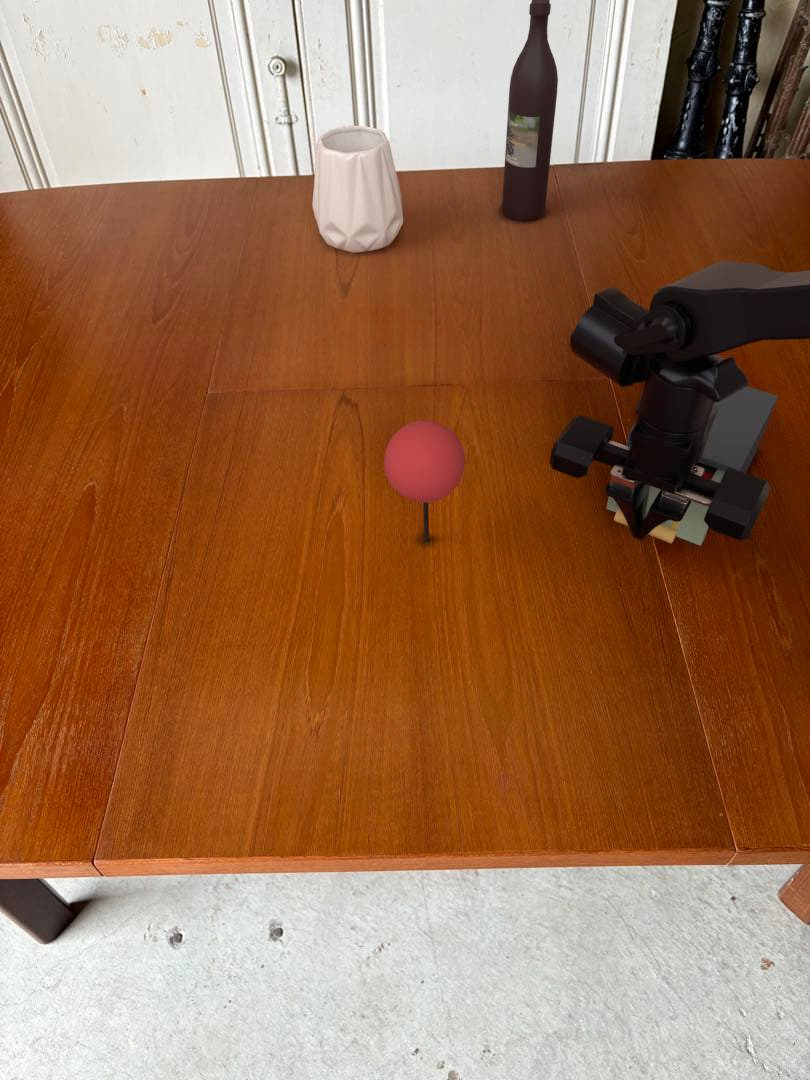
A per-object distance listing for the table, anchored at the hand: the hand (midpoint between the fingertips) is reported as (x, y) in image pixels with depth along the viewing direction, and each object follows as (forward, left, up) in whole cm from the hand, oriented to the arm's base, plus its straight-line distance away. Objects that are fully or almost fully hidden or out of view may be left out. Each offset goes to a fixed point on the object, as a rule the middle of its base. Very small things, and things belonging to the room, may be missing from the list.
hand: (639, 536), depth 80 cm
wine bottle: (+44, -62, -5) cm, 76 cm away
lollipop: (+20, +8, -5) cm, 22 cm away
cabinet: (0, -17, -5) cm, 17 cm away
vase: (+63, -42, -5) cm, 76 cm away
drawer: (0, -9, -4) cm, 10 cm away
